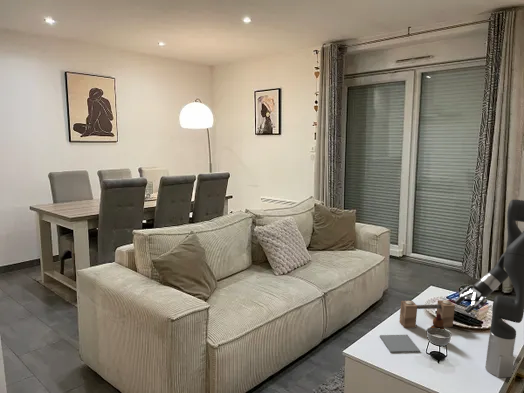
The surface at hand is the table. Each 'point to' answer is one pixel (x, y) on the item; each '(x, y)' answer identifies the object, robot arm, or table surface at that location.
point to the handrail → (410, 308)
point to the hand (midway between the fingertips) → (461, 307)
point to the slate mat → (399, 343)
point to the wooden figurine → (438, 322)
